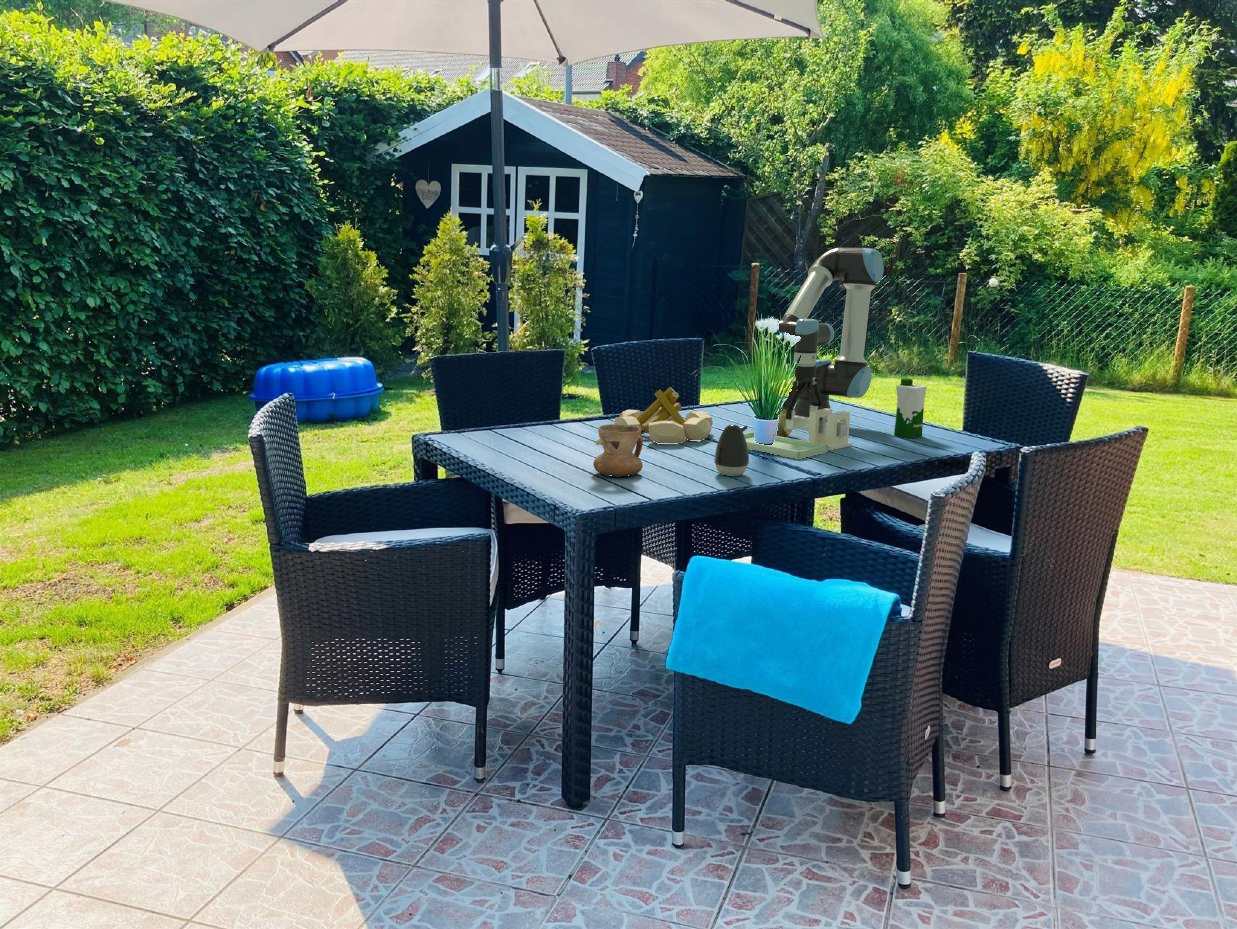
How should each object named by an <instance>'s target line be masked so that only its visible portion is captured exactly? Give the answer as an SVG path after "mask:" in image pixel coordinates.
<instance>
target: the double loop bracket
mask: <svg viewBox="0 0 1237 929" xmlns="http://www.w3.org/2000/svg"><path fill="white" fill-rule="evenodd" d="M820 417H822V420H827V434H821V433H819V418H820ZM850 417H851V412H850V411H848V410H847V411H846V410H843V411H842V410H841V411H838V412H833V409H832V408H831V409H828V408H825V409H820V410H815V411H810V421H809V431H808V442H814V443H820V444H825V445H828V449H829V450H828V451H834V449H835V450H839V449H843V448H846V447H847V448H848V447H851V446H853V442H852V441H849V436H850V435H849V434H850ZM838 421H839V422H840V423H846V424H848V427H847V436H843V437H838V436H836V431H837V422H838Z"/></svg>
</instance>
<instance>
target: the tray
mask: <svg viewBox="0 0 1237 929" xmlns="http://www.w3.org/2000/svg"><path fill="white" fill-rule="evenodd" d="M754 432H755V431H748V432H743V434H744V436H745V439H746V443H747V447H748V449H752V450H759V451H762V452H767V453H770V454H769V455H772V454H774V455H773V456H777V455H780V456H779V457H784V458H788V457H789V458H788V459H793V458H795V459H794V460H798V459H800V460H802V459H801V458H804V459H807V458H806V457H808V458H811V456H812V457H814V456H813V455H816V456H819V455H818V454H820V455H823V454H824V455H825V454H827V453H826V452H829V450H828V445H825V444H820V443H814V442H808V441H809V440H808V441H806V440H801V439H797V438H792V437H791V438H790V437H781V436H775V441H774V443H773V444H772V445H764V444H759V443H756V441H755V438H754ZM752 450H751V451H752ZM762 452H761V453H762ZM767 453H766V454H767Z"/></svg>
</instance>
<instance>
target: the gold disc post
mask: <svg viewBox="0 0 1237 929" xmlns="http://www.w3.org/2000/svg"><path fill="white" fill-rule="evenodd" d="M786 405H787V404H786ZM794 409H795V407H794V408H793V410H794ZM809 421H810V418H809V417H802V416H796V415H795V413H794V429H793V430H799V431H805V432H809ZM847 427H848V424H846V423H840V421H837V431H836V436H838V437H843V436H847ZM793 430H792V429H786V409H784V408H782V410H781V412H780V416H779V423H778V431H777V436H781V437H786V438H788V437H789V436H790V435H791V433H792V432H793ZM819 433H821V434H827V420H821V419H819Z"/></svg>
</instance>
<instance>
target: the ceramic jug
mask: <svg viewBox="0 0 1237 929" xmlns="http://www.w3.org/2000/svg"><path fill="white" fill-rule="evenodd" d="M597 432H598V437H599V439H597V440H596V441H595V445H596V446H602V448H603V452H602V453H601V454H599V455H598V456H596V457H595V458H594V460H593V468H594V470H595V471H596V472H597V473H598V474H600V473H601V475H603V474H604V475H603V476H606V475H612V476H627V477H629V476H628V475H632V476H635V475H636V474H638V473H640V472H641V471H642V469H643V465H644V464H643V461H642V460H641V459H640V458H639V457H640V455H641V451H642V449H643V442H644V441H643V438H642V436H641V434H640V428H639V427H637V426H634V425H626V424H614V423H610V424H602V425H600V426H598V427H597ZM639 434H640V435H639ZM633 451H634V452H633ZM634 474H635V475H634Z"/></svg>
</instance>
